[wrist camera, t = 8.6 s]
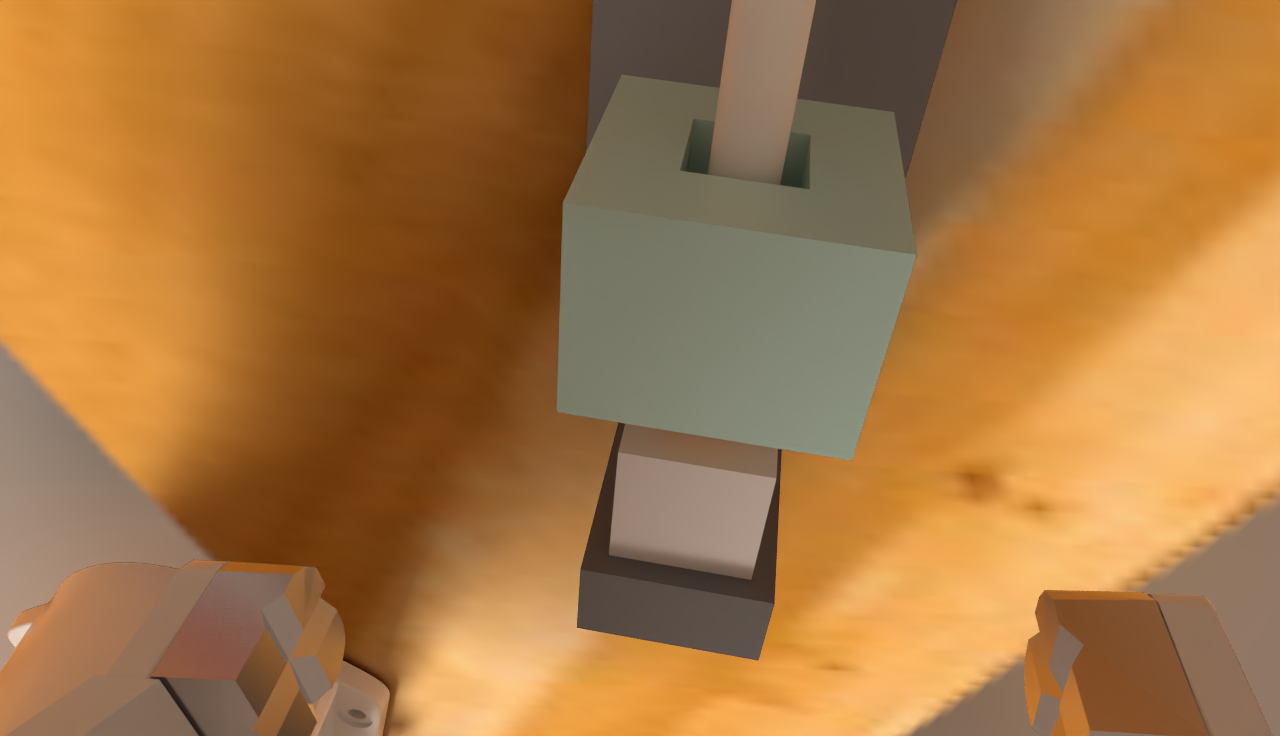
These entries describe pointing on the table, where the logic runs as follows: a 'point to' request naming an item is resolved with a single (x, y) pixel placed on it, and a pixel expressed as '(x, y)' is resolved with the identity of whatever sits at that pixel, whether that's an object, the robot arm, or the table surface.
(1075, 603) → the robot arm
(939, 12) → the sliding block rail stand
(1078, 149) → the table surface
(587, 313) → the sleeve
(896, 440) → the table surface
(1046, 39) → the table surface
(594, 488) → the table surface
